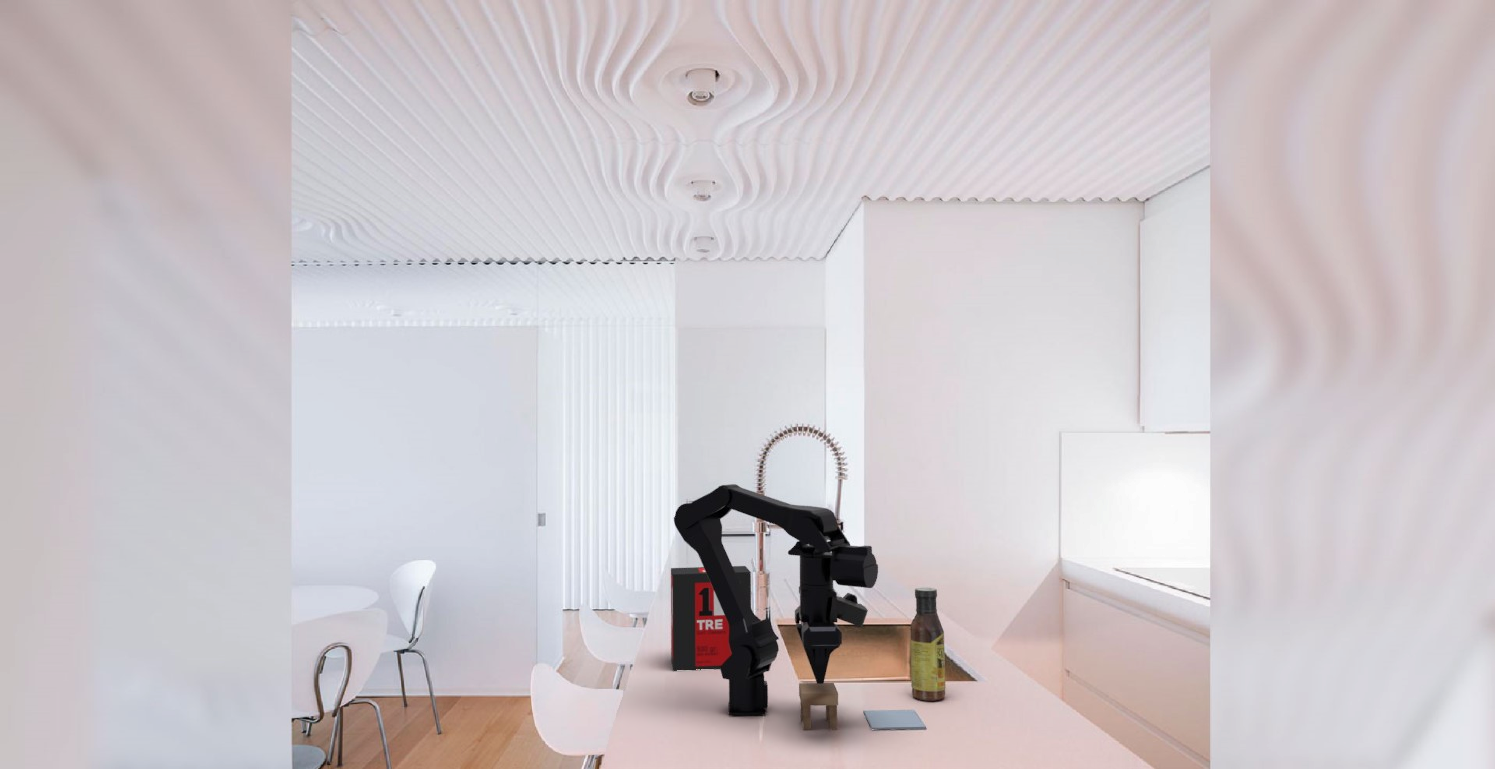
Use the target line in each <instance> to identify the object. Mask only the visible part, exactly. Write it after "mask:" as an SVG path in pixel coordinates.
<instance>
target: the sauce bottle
mask: <svg viewBox="0 0 1495 769" xmlns="http://www.w3.org/2000/svg"><path fill="white" fill-rule="evenodd" d="M937 597H938V591H937V589H936V588H934V587H918V588H915V589H914V598H915V605H916V606H915V607H916V608H915V612H916V614H915V616H914V617H913V619H912V620H911V623H910V640H909V641H910V644H909V645H910V647H909V648H910V674H911V675H910V676H911V677H910V680H911V681H910V683H911V688H912V689H911V694H912V696H913V698H915V699H916V700H921V701H927V702H928V701H930V702H931V701H932V702H935V701H940V700H943V699H944V698H945V695H946V658H945V656H946V655H945V654H946V653H945V652H946V651H945V650H946V649H945V631H944V629H943V625H942V623H941V620H940V618H939V615H938V614H939V613H938V609H937Z"/></svg>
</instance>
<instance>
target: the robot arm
mask: <svg viewBox="0 0 1495 769" xmlns="http://www.w3.org/2000/svg"><path fill="white" fill-rule="evenodd" d="M732 510H733V511H736V512H738V513H741V514H744V515H747V516H750V517H753V518H755V519H759V520H761V521H764V522H767V523H770V524H772V525H775V526H778V527H779V528H781V529H783V531H785V532H786V534H788V535H789V537H790V536H791V537H792V538H794V539H795V540H797V541H796V543H795V545H794V546H792V548H790V549H789V550H788V552H787V554H788V556H797V557H798V556H799V586H798V594H799V606H798V607H796V609H795V610H794V622H795V628H796V630H797V632H798V636H799V638H800V641H801V644H802V647H803V650H804V652H805V655H806V657H807V660H808V663H809V665H810V668H811V670H812V673H813V676H814V678H815V683H818V684H823V683H825V679H826V674H827V669H828V667H829V666H828V665H829V661H830V656H831V654H832V653H833V652H834V651H835V650H837V649H839V648H840V646H841V645H843V637H842V636H843V635H842V634H843V633H842V630H841V629H840V627H839V626H838V625H837V624H836V623H838V620H841V621H843V622H846V623H848V624H852V625H854V627H856V628H859V629H863V626H864V622H865V620H866V617H867V615H868V611H869V609H868V608H867V607H866V606H864V605H863V604H861V603H859V601H858V597H857V595H856V594H853V593H850V592H847V593H846V594H845V595H844V596H843V597H842V596H838V595H837V592H836V591H835V588H834V581H835V583H836V584H837V585H839V586H846V587H847V586H848V587H856V588H866V589H872V588H874V586H875V584H876V582H877V581H878V580H877V579H878V572H879V564H877V559H876V556H875V555H874V553H873V548H872V546H871V545H851V544H850V541H849V540H848V539H847V536H845V533H843V531H842V530H841V527H840V526H839V525H838V520H837V517H836V515H835V513H834V511H832V510H831V509H829V508H826V507H820V506H812V505H801V504H799V505H798V504H792V503H787V502H784V501H782V500H779V499H776V498H773V497H769V496H767V495H765V494H761V493H758V492H755V491H752V490H749V489H746V488H743V487H741V486H739V485H738V484H735V483H732V484H722V485H719V486H718V487H717V488H715V489H713V490H712V491H711V492H709V493H707V494H705V495H703V496H701V497H698V498H697V499H695V500H693V501H692V502H688V503H683V504H681V505H679V507H677V509H676V511H675V513H674V514H675V515H674V517H673V522H674V526H675V528H676V529H677V531H678V533H679V534H680V536H681V538H682V539H683V541H684V542H685V543H686V544H687V545H688V546H689V547H691V549H693V550H694V551H695V552H696V553H697V555H698V557H699V559H700V562H701V564H702V567H704V569H705V571H706V573H707V576H708V578H709V580H710V583H711V585H712V587H713V589H714V592H715V594H716V596H717V599H718V601H719V603H720V605H721V608H722V610H723V612H724V615H725V617H726V619H727V621H728V624H729V646H730V650H731V653H732V655H731V656H730V657H729V658H728V659H727V660H726V661H725V662H724V663H723V664H722V665H721V666H720V669H719V670H720V673H721V676H722V679H724V680H728V716H761V715H762V716H763V715H766V709H768V708H769V705H768V704H769V702H768V700H769V690H768V688H769V687H768V681H767V680H765V673H767V672H769V671H770V670H771V666H772V664H773V662H774V661H775V660H776V659H777V656H778V653H779V650H780V649H779V648H780V647H779V644H778V640H779V639H780V638H779V636H777V634H776V633H775V631H774V629H773V625H772V622H771V620H770V619H769V618H764V619H762V620H761V619H760V617H758V616H757V615H756V614H755V612H754V611H753V609H752V606H751V607H750V604H749V602H748V600H747V598H746V595H745V593H744V591H743V589H742V587H741V584H740V582H739V580H738V578H737V575H736V573H735V571H734V569H733V566H734V565H732V562H731V560H730V558H729V556H728V553H727V551H726V549H725V546H724V544H723V541H722V539H723V538H722V536H723V524H722V521H721V519H722V518H724V517H726V516H727V515H729V513H730V512H731V511H732Z"/></svg>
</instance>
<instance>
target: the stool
mask: <svg viewBox="0 0 1495 769" xmlns="http://www.w3.org/2000/svg"><path fill="white" fill-rule="evenodd" d="M798 696H799V700H800V722H802V729H803V731H812V728H811V727H812V723H811V722H812V721H811V720H812V719H811V717H812V716H811V714H812V713H811V712H812V711H811V707H812V706H814V707H815V706H817V707H818V706H825V719H826V721H827V720H829V721H828V727H829V730H830V729H832V730H838V706H839V692H838V689H837V687H836V685H835V682H824V683H823V684H818V683H817V682H802V683H801V682H800V683H798Z"/></svg>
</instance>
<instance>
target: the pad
mask: <svg viewBox="0 0 1495 769" xmlns="http://www.w3.org/2000/svg"><path fill="white" fill-rule="evenodd" d="M863 714H864V716H866V717H865V719H866V718H867V719H866V721H867V720H868V721H867V722H869V723H868V724H870V725H869V727H870V726H871V727H870V729H871V728H872V729H911V730H927V726H926V725H925V723H924V722H923V720H922V718H921V717H920V715H919V714H918V713H917V711H916V710H915V709H878V710H877V709H876V710H871V709H870V710H869V709H868V710H863ZM872 729H871V730H872Z"/></svg>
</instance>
